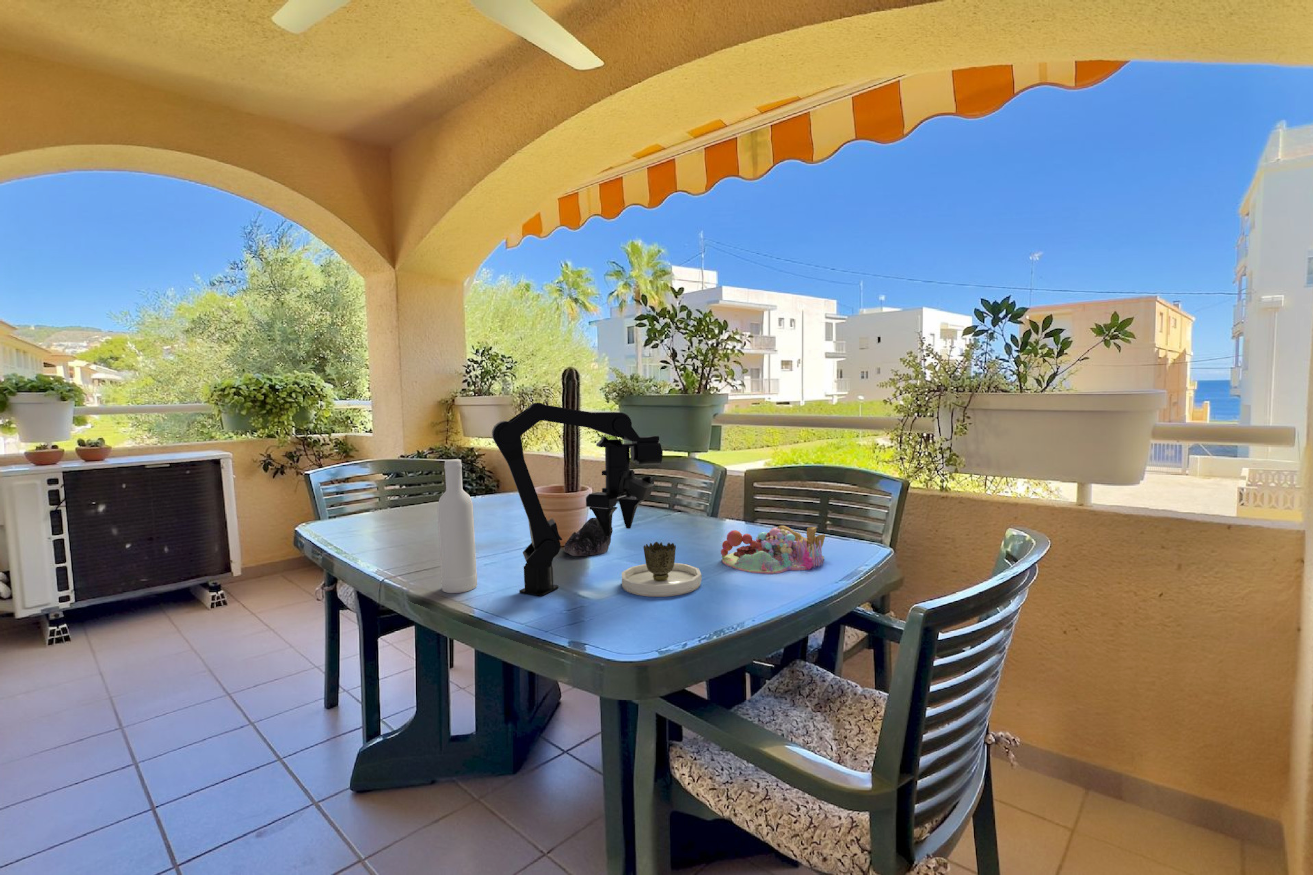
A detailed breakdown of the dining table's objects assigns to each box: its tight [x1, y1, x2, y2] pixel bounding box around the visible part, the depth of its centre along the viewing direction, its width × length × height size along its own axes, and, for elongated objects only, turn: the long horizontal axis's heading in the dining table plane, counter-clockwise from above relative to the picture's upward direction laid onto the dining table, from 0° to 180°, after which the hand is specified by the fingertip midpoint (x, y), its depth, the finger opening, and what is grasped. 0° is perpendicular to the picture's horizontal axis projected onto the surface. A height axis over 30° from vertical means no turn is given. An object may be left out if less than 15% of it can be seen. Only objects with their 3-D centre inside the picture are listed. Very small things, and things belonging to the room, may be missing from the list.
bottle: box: [436, 458, 478, 594], centre depth 139 cm, size 8×8×30 cm
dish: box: [621, 562, 703, 598], centre depth 138 cm, size 18×18×2 cm
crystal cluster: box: [564, 517, 613, 557], centre depth 171 cm, size 14×14×10 cm
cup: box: [642, 541, 677, 581], centre depth 138 cm, size 8×7×8 cm
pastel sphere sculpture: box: [720, 525, 826, 575], centre depth 155 cm, size 25×24×9 cm
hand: (618, 532), depth 141 cm, fingers open, 9 cm apart
